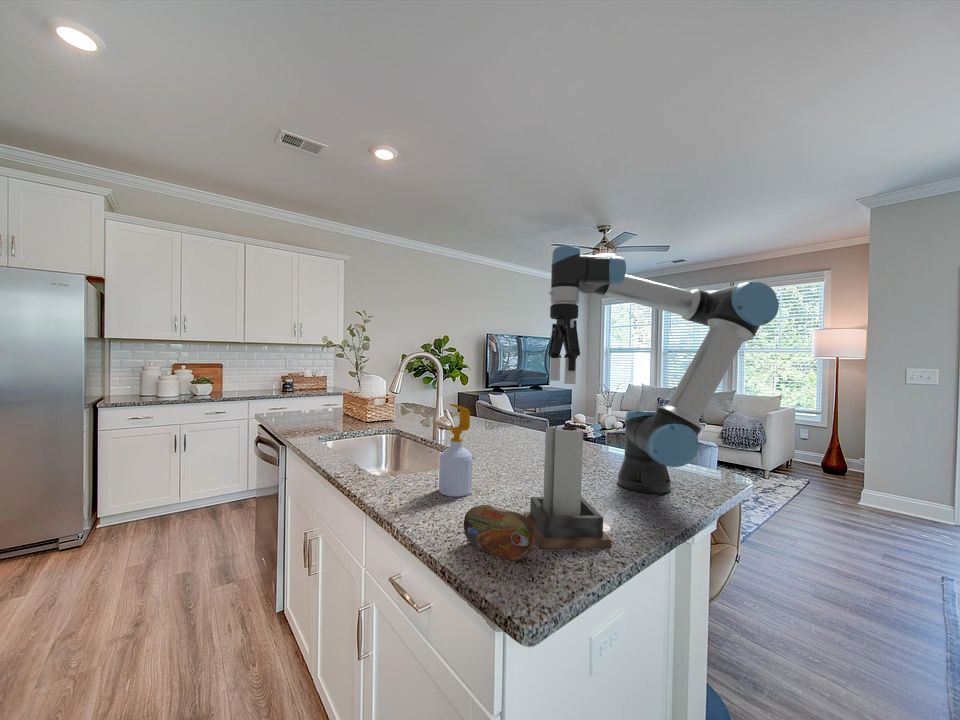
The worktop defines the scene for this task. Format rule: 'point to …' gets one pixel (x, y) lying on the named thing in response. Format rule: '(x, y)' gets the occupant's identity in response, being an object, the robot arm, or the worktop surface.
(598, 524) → the open box on board
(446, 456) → the soap bottle
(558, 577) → the worktop surface
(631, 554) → the worktop surface
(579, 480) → the paper towel roll
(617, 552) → the worktop surface
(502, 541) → the tin
